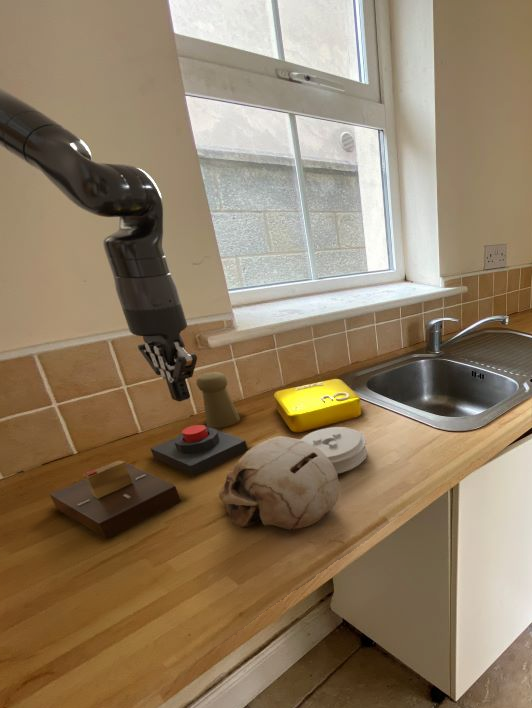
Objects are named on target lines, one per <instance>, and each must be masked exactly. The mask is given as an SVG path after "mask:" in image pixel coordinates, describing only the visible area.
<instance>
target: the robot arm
mask: <svg viewBox="0 0 532 708" xmlns="http://www.w3.org/2000/svg"><path fill="white" fill-rule="evenodd" d="M0 147H1V148H3V149H5V150H7V151H8V152H9V153H11V154H13V155H14V156H16V157H17V158H18V159H20V160H21V161H24V162H25V163H26V164H28V165H30V166H31V167H33V168H35V169H36V170H38V171H39V172H41V173H42V174H43V175H44V176H45V177H46V178H47V179H48V180H49V181H50V182H51V184H53V185H54V186H55V187H56V188H57V189H58V190H59V191H60V192H61V193H62V194H63V195H64V196H66V198H67V199H68V200H69V201H70V202H72V203H73V204H74V205H75V206H76V207H78V208H80V209H82V210H84V211H86V212H88V213H90V214H93V215H96V216H99V217H103V218H119V226H118V230H117V231H115V232H114V233H111V234H109V235H108V236H105V238H103V241H102V245H103V250H104V253H105V256H106V258H107V261H108V265H109V268H110V271H111V273H112V276H113V281H114V287H115V292H116V295H117V298H118V301H119V303H120V306H121V310H122V312H123V315H124V319H125V322H126V325H127V327H128V330H129V332H130V333H131V334H132V335H134V336H137V337H142V339H143V344H138V345H137V348H138V351H139V352H140V353H141V354H142V356H143V358H144V359H145V360H146V362H147V363H148V365H149V366H150V367H151V369H152V370H153V372H154V373H155V374H156V375H157V376H161V377H162V379H163V380H164V381H165V382H166V385H167V388H168V391H169V394H170V397H171V399H172V400H174V401H175V402H179V403H180V402H183V401H186V400H189V399H190V398H191V394H190V391H189V388H188V383H187V381H186V379H187V380H188V379H190V378H192V377H193V375H194V372H195V369H196V366H197V365H196V364H197V361H198V357H197V354H196V353H195V352H193V353H188V351H186V347H185V346H186V345H185V342H184V340H183V338H182V336H181V335H180V334H181V332H182V331H184V330H186V329H187V327H188V323H187V320H186V316H185V312H184V309H183V305H182V301H181V299H180V295H179V292H178V287H177V285H176V283H175V281H174V278H173V277H172V273H171V270H170V266H169V263H168V259H167V256H166V253H165V250H164V247H163V246H164V245H163V244H164V243H163V241H164V204H163V198H162V195H161V192H160V190H159V188H158V186H157V184H156V183H155V181H154V179H153V178H152V177H151V176H150V175H149V174H148V173H147V172H145V171H144V170H142V169H140V168H139V167H137V166H134V165H131V164H118V163H105V162H104V163H102V162H96V161H93V160H92V159H93V158H92V152H91V150H90V149H89V146H88V145H87V144H86V143H85V142H84V140H82V139H81V138H80V137H79V136H77V135H76V134H74V133H73V132H71V131H70V130H69V129H68V128H65V127H64V126H63V125H61V124H59V123H58V122H57V121H55V120H54V119H52V118H50V117H49V116H47V115H46V114H44V113H43V112H41V111H40V110H38V109H37V108H35V107H34V106H32V105H31V104H28V103H27V102H26V101H24V100H23V99H21V98H19V97H17V96H16V95H13V94H12V93H10V92H8V91H6V90H5V89H3V88H1V87H0Z"/></svg>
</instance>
